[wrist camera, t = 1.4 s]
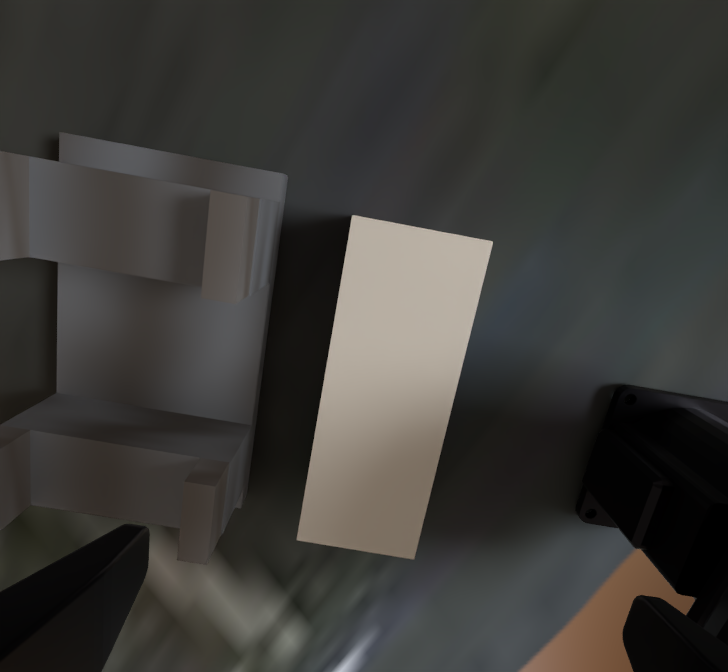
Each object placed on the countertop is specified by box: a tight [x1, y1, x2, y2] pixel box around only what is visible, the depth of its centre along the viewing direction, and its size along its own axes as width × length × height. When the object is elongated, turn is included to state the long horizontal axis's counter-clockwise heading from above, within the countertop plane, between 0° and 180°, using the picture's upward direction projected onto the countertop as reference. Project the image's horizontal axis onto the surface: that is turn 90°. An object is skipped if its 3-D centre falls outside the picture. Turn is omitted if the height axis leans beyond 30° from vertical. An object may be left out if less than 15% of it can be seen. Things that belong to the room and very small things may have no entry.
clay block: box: [297, 215, 493, 559], centre depth 18 cm, size 4×12×4 cm, turn 170°
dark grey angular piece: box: [0, 132, 288, 565], centre depth 16 cm, size 8×14×6 cm, turn 170°
